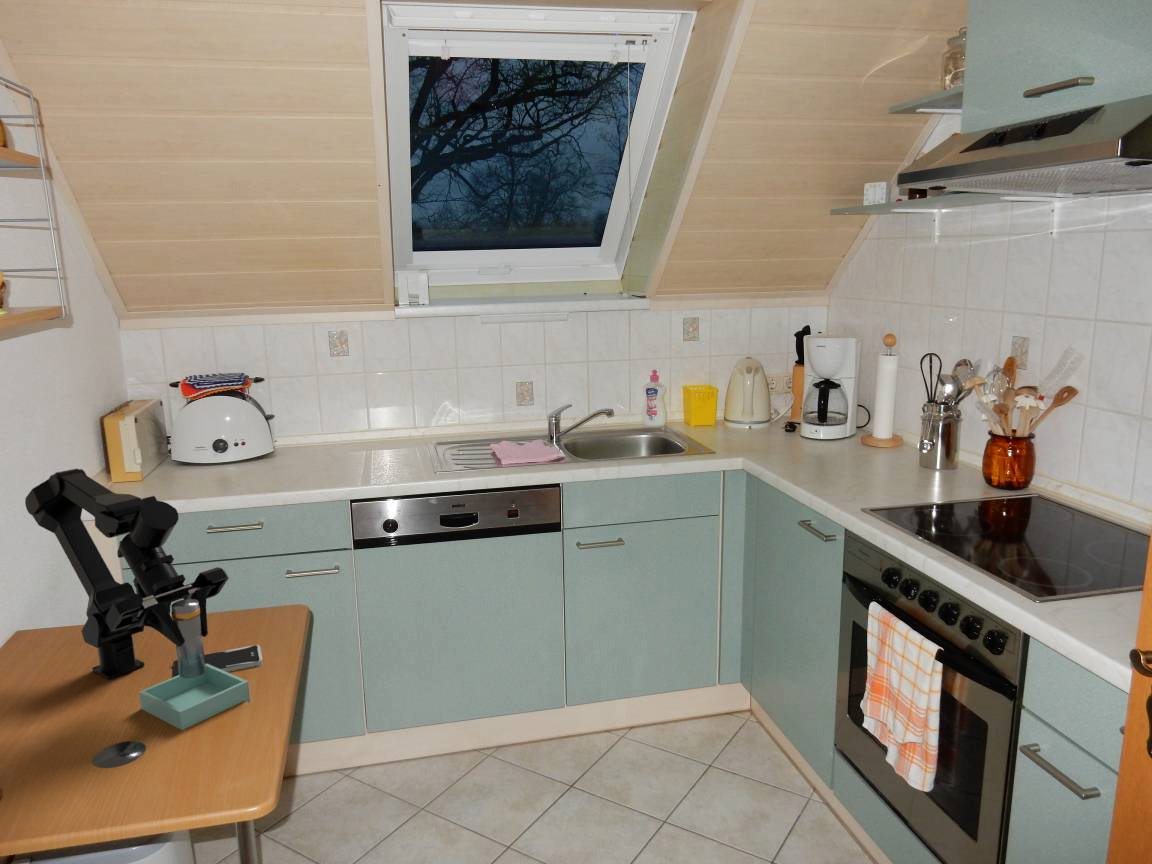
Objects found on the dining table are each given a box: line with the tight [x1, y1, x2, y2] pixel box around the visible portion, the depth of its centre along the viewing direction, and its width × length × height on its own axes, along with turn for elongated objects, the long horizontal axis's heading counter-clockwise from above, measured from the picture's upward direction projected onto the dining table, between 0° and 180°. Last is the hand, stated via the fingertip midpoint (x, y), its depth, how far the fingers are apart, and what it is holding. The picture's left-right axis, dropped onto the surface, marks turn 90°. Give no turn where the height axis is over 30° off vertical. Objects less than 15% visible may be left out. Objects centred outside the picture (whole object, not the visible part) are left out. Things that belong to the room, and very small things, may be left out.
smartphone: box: [172, 644, 264, 678], centre depth 157 cm, size 8×1×15 cm
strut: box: [170, 599, 206, 678], centre depth 140 cm, size 4×4×12 cm
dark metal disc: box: [92, 740, 147, 769], centre depth 128 cm, size 7×7×1 cm
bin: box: [138, 664, 251, 731], centre depth 142 cm, size 12×12×4 cm
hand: (193, 640), depth 139 cm, fingers closed on strut, 4 cm apart
